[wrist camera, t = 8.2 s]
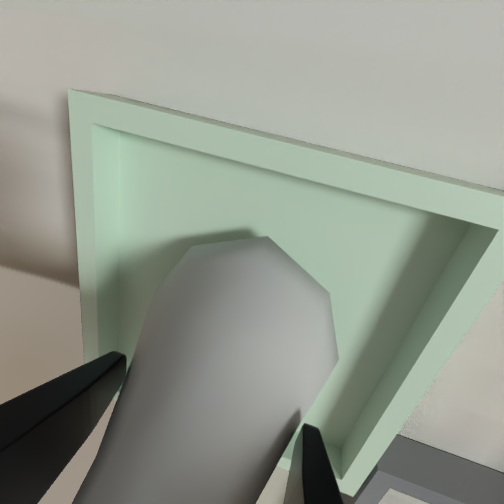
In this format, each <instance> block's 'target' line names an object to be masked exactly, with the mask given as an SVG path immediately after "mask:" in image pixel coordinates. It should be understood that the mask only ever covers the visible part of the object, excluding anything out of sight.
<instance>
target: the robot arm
mask: <svg viewBox="0 0 504 504" xmlns="http://www.w3.org/2000/svg"><path fill="white" fill-rule="evenodd" d="M126 368H127V357H126V355H125V354H122V353H120V352H117V351H111V352H109V353H107V354H105V355H103V356H101V357H98V358H96V359H94V360H92V361H90V362H88V363H86V364H84V365H82V366H80V367H78V368H76V369H74V370H72V371H70V372H67V373H65V374H63V375H61V376H59V377H57V378H55V379H53V380H51V381H49V382H47V383H44V384H42V385H40V386H38V387H36V388H34V389H32V390H30V391H28V392H26V393H24V394H22V395H20V396H17V397H15V398H13V399H11V400H9V401H7V402H5V403H3V404H1V405H0V504H37V503H38V502H39V501H40V499H41V498H42V497H43V496H44V494H45V493H46V491H47V490H48V489H49V488H50V486H51V485H52V484H53V483H54V481H55V480H56V479H57V477H58V476H59V474H60V473H61V472H62V471H63V469H64V468H65V467H66V465H67V464H68V463H69V462H70V460H71V459H72V458H73V456H74V455H75V454H76V452H77V451H78V450H79V448H80V447H81V446H82V444H83V443H84V442H85V440H86V439H87V438H88V436H89V435H90V434H91V432H92V431H93V429H94V428H95V426H96V425H97V423H98V422H99V420H100V418H101V417H102V415H103V413H104V412H105V410H106V409H107V407H108V406H109V404H110V402H111V401H112V399H113V398H114V396H115V394H116V393H117V391H118V390H119V388H120V386H121V385H122V383H123V382H124V379H125V377H126ZM284 504H344V502H343V499H342V496H341V493H340V490H339V487H338V484H337V481H336V478H335V475H334V472H333V469H332V466H331V463H330V460H329V457H328V454H327V451H326V448H325V445H324V442H323V439H322V436H321V433H320V430H319V429H318V428H317V427H315V426H313V425H310V424H307V423H304V424H303V425H302V427H301V430H300V432H299V434H298V436H297V439H296V441H295V444H294V449H293V454H292V460H291V465H290V471H289V476H288V482H287V487H286V493H285V498H284Z"/></svg>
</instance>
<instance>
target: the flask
mask: <svg viewBox="0 0 504 504" xmlns="http://www.w3.org/2000/svg"><path fill="white" fill-rule="evenodd" d="M338 360H339V356H338V349H337V342H336V335H335V328H334V321H333V314H332V307H331V300H330V293H329V292H328V291H327V290H326V289H325V288H324V287H323V286H322V285H321V284H320V283H318V282H317V281H316V280H315V279H314V278H313V277H312V276H311V275H310V274H309V273H308V272H306V271H305V270H304V269H303V268H302V267H301V266H300V265H299V264H298V263H297V262H296V261H295V260H293V259H292V258H291V257H290V256H289V255H288V254H287V253H286V252H285V251H284V250H283V249H281V248H280V247H279V246H278V245H277V244H276V243H275V242H274V241H273V240H272V239H271V238H269V237H268V236H265V237H257V238H249V239H241V240H234V241H226V242H218V243H210V244H203V245H195V246H192V247H191V248H190V249H189V250H188V251H187V253H186V254H185V255H184V256H183V257H182V259H181V260H180V261H179V262H178V263H177V265H176V266H175V267H174V268H173V269H172V271H171V272H170V273H169V274H168V275H167V277H166V278H165V279H164V280H163V281H162V283H161V284H160V285H159V286H158V287H157V289H156V290H155V291H154V293H153V296H152V299H151V301H150V304H149V307H148V310H147V313H146V316H145V319H144V323H143V326H142V329H141V332H140V335H139V338H138V341H137V345H136V348H135V351H134V354H133V357H132V360H131V363H130V366H129V368H128V371H127V374H126V377H125V379H124V382H123V385H122V388H121V390H120V393H119V396H118V398H117V401H116V404H115V407H114V410H113V412H112V415H111V417H110V420H109V423H108V426H107V429H106V431H105V434H104V437H103V439H102V442H101V445H100V448H99V450H98V453H97V456H96V458H95V460H94V462H93V464H92V466H91V468H90V469H89V471H88V473H87V475H86V477H85V479H84V481H83V483H82V485H81V487H80V489H79V491H78V493H77V494H76V496H75V498H74V501H73V502H72V504H255V503H256V502H257V500H258V498H259V496H260V494H261V493H262V491H263V489H264V487H265V485H266V484H267V482H268V480H269V478H270V476H271V475H272V473H273V471H274V469H275V467H276V466H277V464H278V462H279V460H280V459H281V457H282V455H283V453H284V451H285V450H286V448H287V446H288V444H289V442H290V441H291V439H292V437H293V435H294V433H295V432H296V430H297V428H298V426H299V425H300V423H301V421H302V420H303V418H304V417H305V415H306V413H307V412H308V410H309V409H310V407H311V405H312V404H313V402H314V400H315V399H316V397H317V396H318V394H319V392H320V391H321V389H322V388H323V386H324V384H325V383H326V381H327V380H328V378H329V376H330V375H331V373H332V371H333V369H334V367H335V366H336V364H337V362H338Z"/></svg>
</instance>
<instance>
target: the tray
mask: <svg viewBox="0 0 504 504" xmlns="http://www.w3.org/2000/svg"><path fill="white" fill-rule="evenodd" d="M67 91H68V107H69V124H70V140H71V156H72V172H73V188H74V205H75V221H76V237H77V253H78V270H79V286H80V302H81V318H82V333H83V351H84V364H86V363H88V362H90V361H92V360H94V359H96V358H98V357H101V356H103V355H105V354H107V353H109V352H111V351H117V352H120V353H122V354H125V355H126V357H127V368H126V374H127V371H128V368H129V366H130V363H131V360H132V357H133V354H134V351H135V348H136V345H137V341H138V338H139V335H140V332H141V329H142V326H143V323H144V319H145V316H146V313H147V310H148V307H149V304H150V301H151V299H152V296H153V293H154V291H155V290H156V289H157V287H158V286H159V285H160V284H161V283H162V281H163V280H164V279H165V278H166V277H167V275H168V274H169V273H170V272H171V271H172V269H173V268H174V267H175V266H176V265H177V263H178V262H179V261H180V260H181V259H182V257H183V256H184V255H185V254H186V253H187V251H188V250H189V249H190V248H191V247H192V246H195V245H203V244H210V243H218V242H226V241H234V240H241V239H249V238H257V237H265V236H268V237H269V238H271V239H272V240H273V241H274V242H275V243H276V244H277V245H278V246H279V247H280V248H281V249H283V250H284V251H285V252H286V253H287V254H288V255H289V256H290V257H291V258H292V259H293V260H295V261H296V262H297V263H298V264H299V265H300V266H301V267H302V268H303V269H304V270H305V271H306V272H308V273H309V274H310V275H311V276H312V277H313V278H314V279H315V280H316V281H317V282H318V283H320V284H321V285H322V286H323V287H324V288H325V289H326V290H327V291H328V292H329V293H330V300H331V307H332V314H333V321H334V328H335V335H336V342H337V349H338V356H339V360H338V362H337V364H336V366H335V367H334V369H333V371H332V373H331V375H330V376H329V378H328V380H327V381H326V383H325V384H324V386H323V388H322V389H321V391H320V392H319V394H318V396H317V397H316V399H315V400H314V402H313V404H312V405H311V407H310V409H309V410H308V412H307V413H306V415H305V417H304V418H303V420H302V421H301V423H300V425H299V426H298V428H297V430H296V432H295V433H294V435H293V437H292V439H291V441H290V442H289V444H288V446H287V448H286V450H285V451H284V453H283V455H282V457H281V459H280V460H279V462H278V464H277V466H278V467H280V468H283V469H285V470H288V471H290V465H291V460H292V454H293V449H294V444H295V441H296V439H297V436H298V434H299V432H300V430H301V427H302V425H303V424H304V423H307V424H310V425H313V426H315V427H317V428H318V429H319V430H320V433H321V436H322V439H323V442H324V445H325V448H326V451H327V454H328V457H329V460H330V463H331V466H332V469H333V472H334V475H335V478H336V481H337V484H338V487H339V490H340V492H342V493H345V494H347V495H350V496H352V497H354V495H355V494H356V492H357V491H358V490H359V488H360V487H361V485H362V484H363V482H364V481H365V479H366V478H367V477H368V475H369V474H370V472H371V471H372V469H373V468H374V466H375V465H376V464H377V462H378V461H379V459H380V458H381V456H382V455H383V453H384V452H385V451H386V449H387V448H388V446H389V445H390V443H391V442H392V440H393V439H394V438H395V436H396V435H397V433H398V432H399V430H400V429H401V428H402V426H403V425H404V423H405V422H406V420H407V419H408V417H409V416H410V415H411V413H412V412H413V410H414V409H415V407H416V406H417V404H418V403H419V402H420V400H421V399H422V397H423V396H424V394H425V393H426V391H427V390H428V389H429V387H430V386H431V384H432V383H433V381H434V380H435V378H436V377H437V376H438V374H439V373H440V371H441V370H442V368H443V367H444V365H445V364H446V363H447V361H448V360H449V358H450V357H451V355H452V354H453V352H454V351H455V350H456V348H457V347H458V345H459V344H460V342H461V341H462V340H463V338H464V337H465V335H466V334H467V332H468V331H469V329H470V328H471V327H472V325H473V324H474V322H475V321H476V319H477V318H478V316H479V315H480V314H481V312H482V311H483V309H484V308H485V306H486V305H487V303H488V302H489V301H490V299H491V298H492V296H493V295H494V293H495V292H496V290H497V289H498V288H499V286H500V285H501V283H502V282H503V280H504V191H503V190H499V189H495V188H490V187H486V186H482V185H478V184H474V183H470V182H466V181H462V180H458V179H454V178H450V177H446V176H442V175H437V174H433V173H429V172H425V171H421V170H417V169H413V168H409V167H405V166H401V165H397V164H393V163H388V162H384V161H380V160H376V159H372V158H368V157H364V156H360V155H356V154H352V153H348V152H344V151H340V150H335V149H331V148H327V147H323V146H319V145H315V144H311V143H307V142H303V141H299V140H295V139H291V138H287V137H282V136H278V135H274V134H270V133H266V132H262V131H258V130H254V129H250V128H246V127H242V126H238V125H234V124H229V123H225V122H221V121H217V120H213V119H209V118H205V117H201V116H197V115H193V114H189V113H185V112H180V111H176V110H172V109H168V108H164V107H160V106H156V105H152V104H148V103H144V102H140V101H136V100H132V99H127V98H123V97H119V96H115V95H111V94H104V93H96V92H89V91H81V90H74V89H67ZM122 385H123V383H122ZM122 385H121V386H120V388H119V390H118V391H117V393H116V394H115V396H114V398H113V399H112V400H113V401H117V398H118V396H119V393H120V390H121V388H122Z"/></svg>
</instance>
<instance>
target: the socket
mask: <svg viewBox="0 0 504 504" xmlns="http://www.w3.org/2000/svg"><path fill="white" fill-rule="evenodd" d="M390 488H391V489H394V490H396V491H399V492H401V493H404V494H406V495H409V496H412V497H414V498H417V499H419V500H422V501H424V502H427V503H429V504H504V473H501V472H498V471H495V470H493V469H490V468H487V467H484V466H482V465H479V464H476V463H473V462H471V461H468V460H465V459H463V458H460V457H457V456H454V455H452V454H449V453H446V452H443V451H441V450H438V449H435V448H432V447H430V446H427V445H424V444H422V443H419V442H416V441H413V440H411V439H408V438H405V437H402V436H400V435H396V436H395V438H394V439H393V440H392V442H391V443H390V445H389V446H388V448H387V449H386V451H385V452H384V453H383V455H382V456H381V458H380V459H379V461H378V462H377V464H376V465H375V466H374V468H373V469H372V471H371V472H370V474H369V475H368V477H367V478H366V479H365V481H364V482H363V484H362V485H361V487H360V488H359V490H358V491H357V492H356V494H355V495H354V497H352V496H350V495H347V494H345V493H342V492H340V493H341V496H342V499H343V502H344V504H378V503H379V502H380V500H381V499H382V498H383V496H384V495H385V494H386V493H387V491H388V490H389V489H390Z"/></svg>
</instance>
